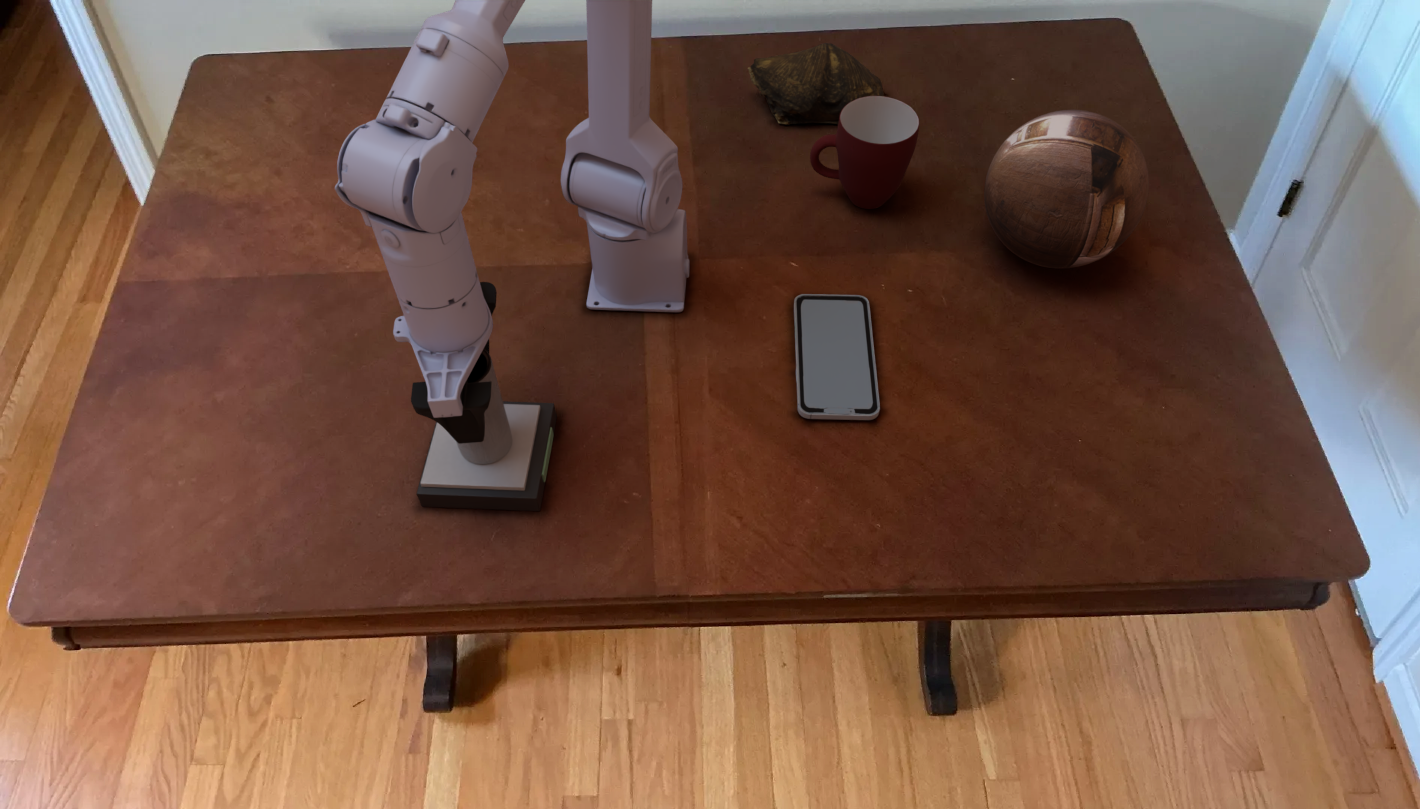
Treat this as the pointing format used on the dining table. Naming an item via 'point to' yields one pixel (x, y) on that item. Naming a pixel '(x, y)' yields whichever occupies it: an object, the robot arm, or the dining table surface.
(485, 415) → the gray cylinder
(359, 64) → the dining table surface
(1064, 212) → the shiny copper ball
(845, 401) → the smartphone
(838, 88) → the seashell
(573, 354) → the dining table surface
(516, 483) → the scale
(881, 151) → the mug
